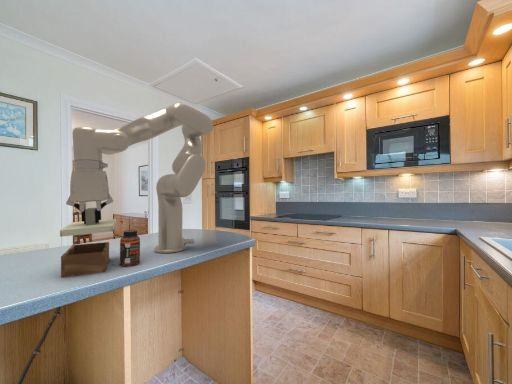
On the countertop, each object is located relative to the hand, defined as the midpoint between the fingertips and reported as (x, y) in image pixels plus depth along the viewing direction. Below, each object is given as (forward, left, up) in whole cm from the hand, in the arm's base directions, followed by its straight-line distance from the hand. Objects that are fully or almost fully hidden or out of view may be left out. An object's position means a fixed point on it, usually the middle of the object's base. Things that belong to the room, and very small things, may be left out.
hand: (91, 222), depth 76 cm
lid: (0, 0, -2) cm, 2 cm away
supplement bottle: (-11, +3, -14) cm, 18 cm away
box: (+1, 0, -14) cm, 14 cm away
